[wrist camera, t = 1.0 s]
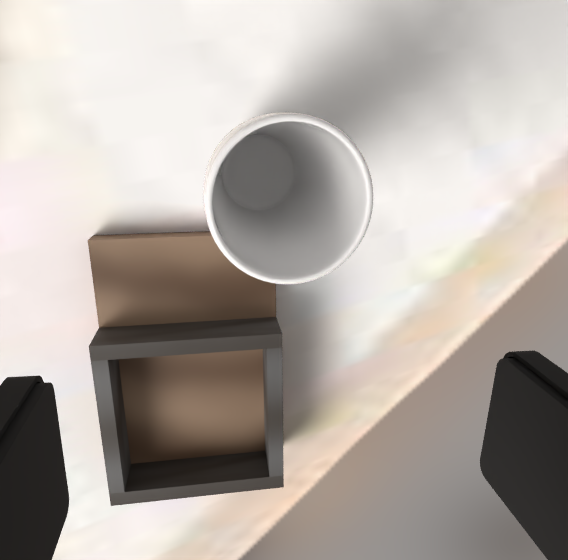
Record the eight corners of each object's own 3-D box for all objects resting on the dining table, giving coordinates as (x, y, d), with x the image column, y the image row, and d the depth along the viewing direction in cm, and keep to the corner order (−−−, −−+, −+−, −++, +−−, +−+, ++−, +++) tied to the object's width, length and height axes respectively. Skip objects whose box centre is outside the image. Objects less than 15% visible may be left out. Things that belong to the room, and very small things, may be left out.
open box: (93, 235, 33) (75, 251, 28) (272, 228, 34) (281, 243, 30) (122, 463, 38) (111, 505, 34) (275, 448, 40) (283, 486, 35)
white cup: (308, 119, 33) (385, 114, 18) (303, 221, 35) (368, 287, 20) (204, 115, 32) (201, 106, 17) (205, 219, 34) (202, 288, 19)
